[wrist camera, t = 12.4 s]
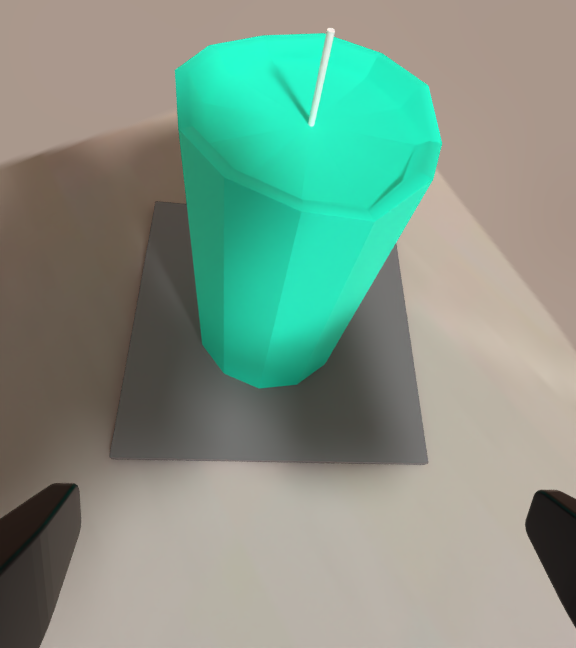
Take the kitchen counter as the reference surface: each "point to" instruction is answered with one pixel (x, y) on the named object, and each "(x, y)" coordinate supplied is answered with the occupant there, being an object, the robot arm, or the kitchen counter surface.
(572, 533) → the robot arm
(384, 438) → the mat
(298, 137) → the candle
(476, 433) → the kitchen counter surface
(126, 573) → the kitchen counter surface
